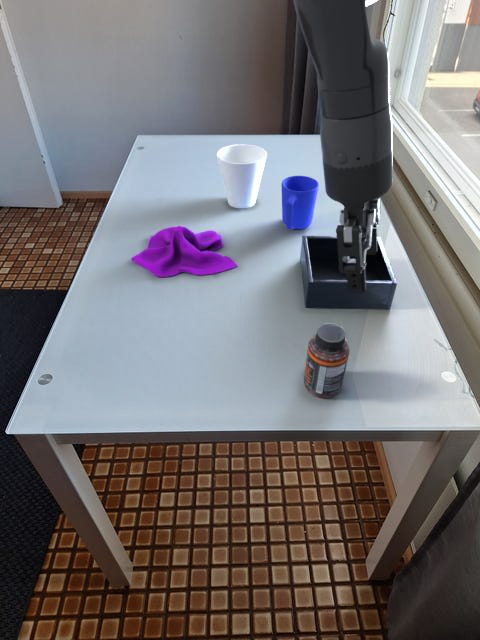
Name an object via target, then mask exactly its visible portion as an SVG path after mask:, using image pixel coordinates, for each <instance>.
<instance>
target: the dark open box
mask: <svg viewBox="0 0 480 640" xmlns="http://www.w3.org/2000/svg"><path fill="white" fill-rule="evenodd" d="M349 259H356V258H355V257H353V256H349ZM299 265H300V272H301V282H302V291H303V298H304V299H303V300H304V307H305V308H306V309H338V310H339V309H340V310H341V309H343V310H344V309H345V310H348V309H350V310H391V308H392V305H393V302H394V301H393V300H394V296H395V292H396V289H397V285H398V282H397V279H396V276H395V273H394V271H393V268H392V266H391V263H390V260H389V258H388V255H387V251H386V249H385V246H384V244H383V241H382V238H381V236H377V253H376V254H375V255H366V266H365V273H366V290H365V292H364V293H352V292H349V291H348V290H347V280H346V273H340V272H339V259H338V245H337V235H334V236H333V235H302V237H301V246H300V256H299Z"/></svg>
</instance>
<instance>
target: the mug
mask: <svg viewBox="0 0 480 640" xmlns="http://www.w3.org/2000/svg"><path fill="white" fill-rule="evenodd" d="M319 187H320V183H319V181H317V180H316V179H315V178H314V177H310V176H307V175H292V176H288V177H286V178H284V179H283V180H282V181H281V219H282V222H283V224H284V225H285V228H286V229H287V230H303V229H306V228H308V227H309V226H310V225H311V224H312V221H313V218H314V213H315V208H316V202H317V199H318V192H319Z"/></svg>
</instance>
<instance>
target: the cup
mask: <svg viewBox="0 0 480 640" xmlns="http://www.w3.org/2000/svg"><path fill="white" fill-rule="evenodd" d="M267 156H268V153H267V151H266V150H265V149H264V148H262V147H260V146H259V145H258V146H257V145H254V144H247V143H236V144H229V145H226V146H223V147H221V148H220V149H218V151H217V152H216V159H217V162H218V167H219V170H220V174H221V177H222V182H223V187H224V190H225V195H226V200H227V204H228V205H229V206H230V207H232V208H235V209H249V208H252V207H253V206H254V205H255V204H256V202H257V201H256V200H257V197H258V193H259V190H260V184H261V181H262V176H263V172H264V168H265V164H266V160H267Z"/></svg>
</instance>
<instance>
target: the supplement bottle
mask: <svg viewBox="0 0 480 640" xmlns="http://www.w3.org/2000/svg"><path fill="white" fill-rule="evenodd" d="M346 335H347V333H346V331H345V329H344V327H342V326H341V325H339V324H336V323H333V322H327V323H323V324H321V325H319V327H318V328H317V330H316V333H315V334H314V335H313V336H312V337H311V338H310V339H309V341H308V344H307V345H308V346H307V351H306V358H305V366H304V375H303V385H304V387H305V389H306V390H307V391H308V392H309V394H310V395H312V396H314V397H317V398H322V399H327V398H332V397H335V396H337V395H338V394H339V393H340V391H341V390H342V387H343V385H344V384H343V383H344V379H345V374H346V370H347V365H348V361H349V356H350V350H351V349H350V348H351V347H350V344H349V342H348V340H347V339H346Z"/></svg>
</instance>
